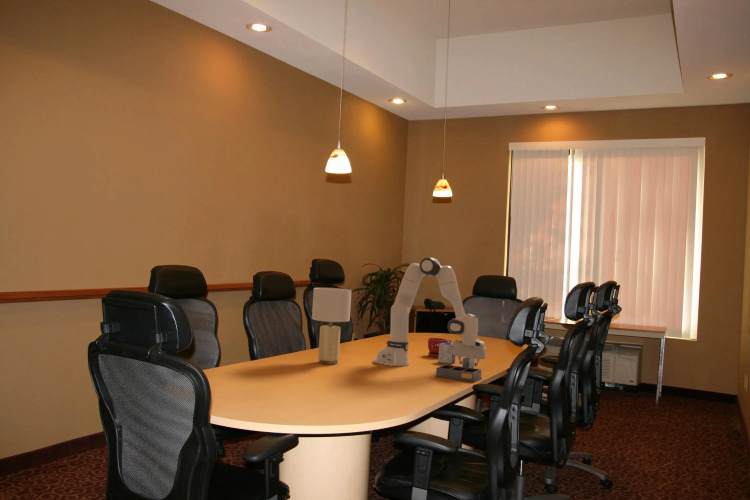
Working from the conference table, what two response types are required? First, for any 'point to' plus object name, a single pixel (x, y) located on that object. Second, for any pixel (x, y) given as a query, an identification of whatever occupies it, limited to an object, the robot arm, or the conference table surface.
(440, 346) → the ink cartridge box
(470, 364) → the grey rectangular block
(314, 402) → the conference table surface
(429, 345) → the plant pot
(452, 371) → the slot rack
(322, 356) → the lamp
